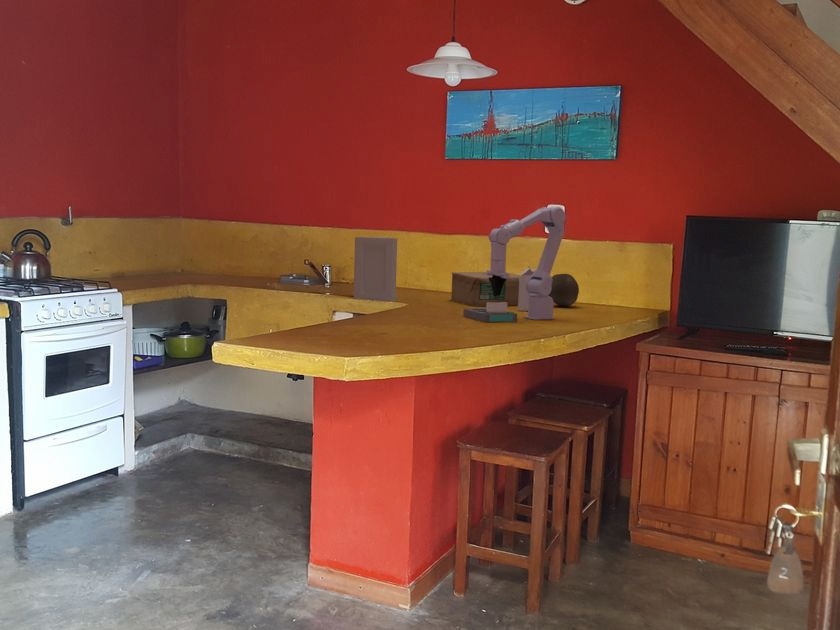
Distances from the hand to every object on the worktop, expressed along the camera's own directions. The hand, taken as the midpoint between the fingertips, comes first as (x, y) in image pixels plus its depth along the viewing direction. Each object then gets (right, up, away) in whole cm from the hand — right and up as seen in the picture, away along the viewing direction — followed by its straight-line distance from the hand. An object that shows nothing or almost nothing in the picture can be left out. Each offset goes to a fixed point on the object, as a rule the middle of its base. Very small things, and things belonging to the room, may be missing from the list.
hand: (496, 295), depth 311 cm
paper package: (+1, -2, +59) cm, 59 cm away
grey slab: (0, -10, 0) cm, 10 cm away
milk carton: (+16, -6, +37) cm, 41 cm away
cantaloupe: (+35, -4, +55) cm, 65 cm away
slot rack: (-2, -9, +4) cm, 10 cm away
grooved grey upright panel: (-49, 0, +64) cm, 81 cm away
